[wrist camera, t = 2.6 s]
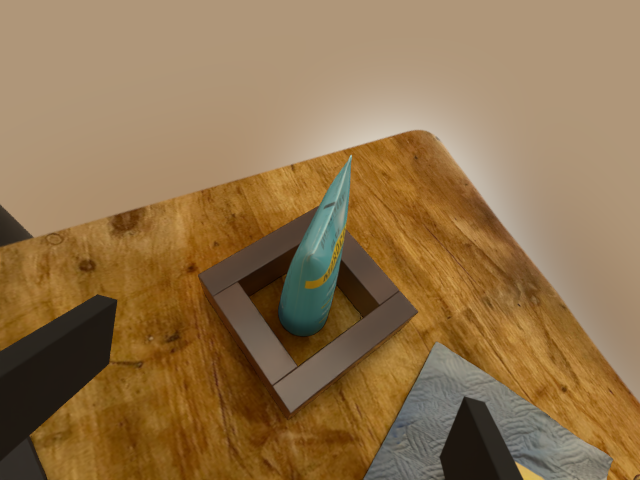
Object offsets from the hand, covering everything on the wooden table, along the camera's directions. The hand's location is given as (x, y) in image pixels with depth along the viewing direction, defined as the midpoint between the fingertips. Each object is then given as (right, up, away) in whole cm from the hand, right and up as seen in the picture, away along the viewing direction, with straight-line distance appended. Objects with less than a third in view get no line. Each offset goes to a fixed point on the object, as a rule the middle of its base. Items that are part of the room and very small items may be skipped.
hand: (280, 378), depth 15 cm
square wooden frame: (0, -2, +25) cm, 25 cm away
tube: (0, -2, +25) cm, 25 cm away
